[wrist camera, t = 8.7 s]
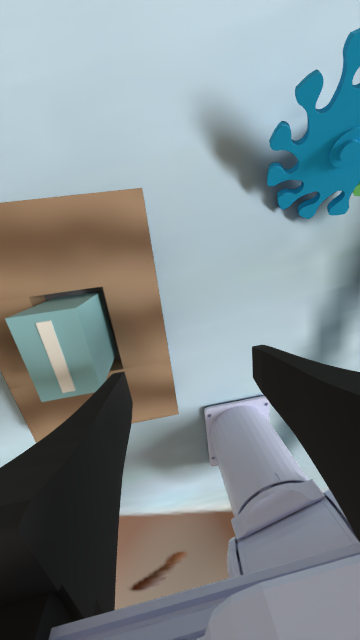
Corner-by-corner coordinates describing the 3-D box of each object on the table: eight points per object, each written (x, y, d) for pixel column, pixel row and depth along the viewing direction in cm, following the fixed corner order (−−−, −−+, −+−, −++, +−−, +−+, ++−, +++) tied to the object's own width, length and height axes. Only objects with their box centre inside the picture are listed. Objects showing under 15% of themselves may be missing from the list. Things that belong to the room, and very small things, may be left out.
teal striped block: (117, 351, 19) (101, 392, 13) (75, 358, 19) (40, 403, 13) (101, 290, 17) (75, 308, 12) (54, 297, 17) (3, 319, 11)
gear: (237, 169, 15) (451, -94, 7) (240, 137, 18) (393, -73, 10) (318, 249, 19) (506, 142, 11) (310, 213, 22) (455, 109, 14)
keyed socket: (176, 397, 22) (178, 414, 20) (49, 421, 21) (35, 442, 19) (143, 197, 16) (141, 188, 14) (-42, 218, 15) (-78, 211, 12)
